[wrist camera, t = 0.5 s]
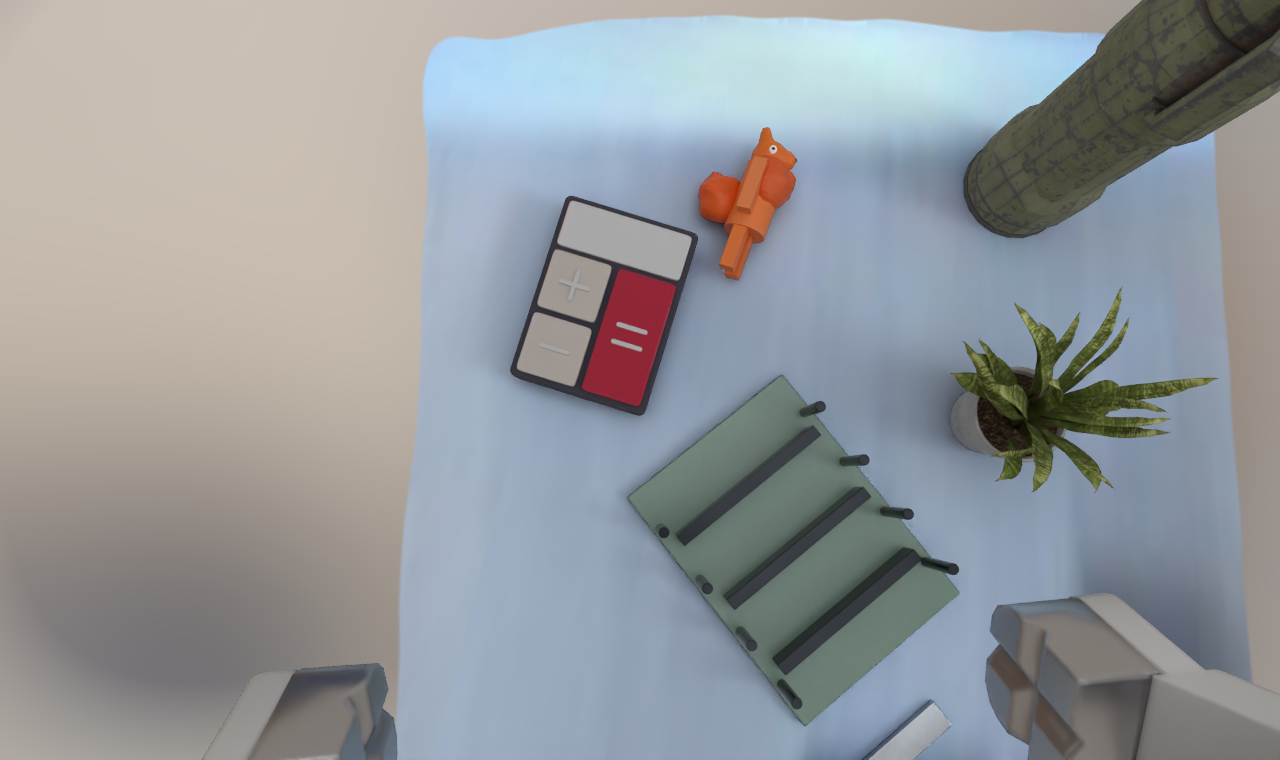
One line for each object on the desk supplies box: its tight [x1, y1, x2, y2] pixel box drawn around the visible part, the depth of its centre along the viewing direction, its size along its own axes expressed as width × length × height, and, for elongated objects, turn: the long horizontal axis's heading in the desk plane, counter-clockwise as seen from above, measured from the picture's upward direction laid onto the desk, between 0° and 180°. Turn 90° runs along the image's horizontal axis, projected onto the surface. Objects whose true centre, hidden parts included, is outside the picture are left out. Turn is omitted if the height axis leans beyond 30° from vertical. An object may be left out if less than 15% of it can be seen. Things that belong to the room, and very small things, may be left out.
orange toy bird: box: [699, 127, 797, 280], centre depth 61 cm, size 5×8×12 cm
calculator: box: [510, 196, 698, 415], centre depth 60 cm, size 11×4×15 cm
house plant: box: [950, 287, 1218, 493], centre depth 53 cm, size 14×14×16 cm
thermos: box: [964, 0, 1280, 238], centre depth 47 cm, size 9×12×35 cm
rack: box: [627, 375, 960, 726], centre depth 57 cm, size 22×16×6 cm
